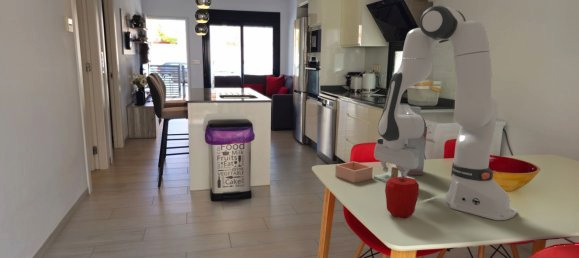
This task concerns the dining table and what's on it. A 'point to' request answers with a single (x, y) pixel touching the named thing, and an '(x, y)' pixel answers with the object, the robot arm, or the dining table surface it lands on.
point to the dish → (354, 171)
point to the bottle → (420, 145)
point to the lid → (389, 175)
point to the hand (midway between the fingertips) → (394, 174)
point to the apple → (401, 196)
